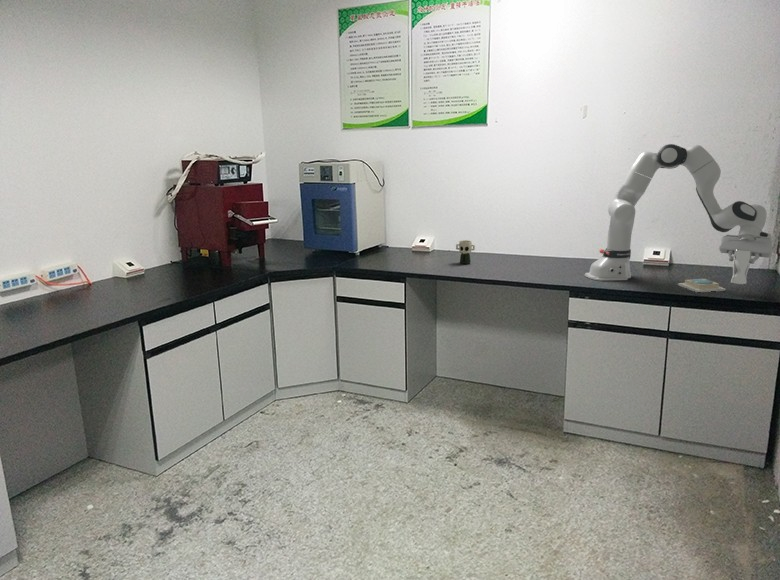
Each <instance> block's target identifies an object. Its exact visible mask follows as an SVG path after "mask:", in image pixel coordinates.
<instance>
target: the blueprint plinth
mask: <svg viewBox="0 0 780 580" xmlns="http://www.w3.org/2000/svg"><path fill="white" fill-rule="evenodd" d="M677 286H679V287H682V288H685V289H686V288H687V289H686V290H689V291H692V292H694V291H695V293H697V292H701V293H712V292H711V291H716V292H725V291H726V288H724V287H722V286H720V283H718V282H715V281H712V280H710V279H706V278H693V279H685V280H684V282H679V283H677Z"/></svg>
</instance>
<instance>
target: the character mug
mask: <svg viewBox="0 0 780 580" xmlns="http://www.w3.org/2000/svg"><path fill="white" fill-rule="evenodd" d="M472 242H473V241H472V240H467V239H466V240H460V241H459V242H458V243H456V244H455V248H456V250H458V251H459V253H461V254H460V258H459V264H465V265H468V264H470V263H471V254H470V253H471V252H472V251H475V249H476V248H475V247H476V246H475V245H476V244H472Z"/></svg>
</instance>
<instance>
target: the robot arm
mask: <svg viewBox="0 0 780 580" xmlns="http://www.w3.org/2000/svg"><path fill="white" fill-rule="evenodd" d="M679 166H683V167H684V168H686V169H687V171H689V173H690V174H691V176H692V177H693V179H694V183H695V191H696V193H697V196H698V198H699V200H700V202H701V204H702V206H703V208H704V209H705V211H706V214H707V215H708V218H709V221H710V224H711V226H712V227H713V229H714V230H716V231H718V232H720V233H727V232H729V231H731V230H732V229H734V228H736V227H738V226H739V227H740V228H739V231H738V235H735V234H732V235H731V234H726V235H723V236H722V237H721V242H720V244H719V248H718V249H719V252H720V253H722V254H728V257H729V258H728V260H729V262H733V255H734V251H735V249H737V250H741V251H751V250H752V257H751V260H750V265H751V264H752V265H754V264H755V262H756V261H757V260H758V259H760V258H767V259H769V258H770V257H771V256H772V254H773V253H772V252H773V237H772V234H770V233H768V232H765V231H763V229H764V227H765V225H766V222H767V215H768V214H767V210H766V208H765V206H762V205H760V204H749V203H747V202H745V201H741V200H737V201H735V202H733V203H731V204H729V205H728V206H727V207H724V208H723V209H722V208H721V206H720V204H719V203H718V200H717V199H716V197H715V195H714V189H715V186H716V184H717V183H718V181H719V180H720V177H721V167H720V165H719V163H718V162H716V160H715V158H714V157H713V156H712V155H711V154H710V153H709V152H708V151H707V150H706V149H705V148H704V147H703V146H701V145H698V144H695V145H692V146H690V147H688V148H685V147H682V146H680V145H677V144H673V143H669V144H665V145H663V146H662V147H660V148H659V150H658V151H657V152H652V151H644V152H641V153H640V154H639V156H638V157H637V158H636V159H635V161H634V162H633V163H632V165H631V168H630V169H629V171H628V173H627V175H626V177H625V179H624V180H623V183H622V184H621V186H620V187H619V189H618V190H617V192H616V194H614V196H613V198H612V200H611V201H610V203H609V205H608V209H607V212H608V215H609V216H610V218H609V221H610V222H609V227H608V232H607V240H606V248H605V250H604V249H602V248H600V249H599V254H602V256H601V257H600V258H598V259H597V260H595V261H593V262H592V263H591V265H590V267H589V272H585V273H584V276H585V277H586V278H588V279H590V280H593V281H628V280H629V279H631V278H632V273H631V267H630V260H631V254H632V252H631V251H632V249H631V243H632V233H633V228H634V224H635V218H636V208H635V207H636V205H637V203H638V202H639V200H640V199H641V198H642V196H643V195H644V194H645V193H646V190H647V189H648V187H649V185H650V183H651V182H652V179H653V177H654V176H655V173H656V172H657V171H658V170H659V169H667V170H668V169H669V170H670V169H671V170H673V169H676V168H678V167H679Z"/></svg>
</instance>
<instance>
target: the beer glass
mask: <svg viewBox="0 0 780 580" xmlns="http://www.w3.org/2000/svg"><path fill="white" fill-rule="evenodd" d="M732 256H733V261H732V277H731V279H730V283H731V284H735V285H746V284H748V283H747V275H748V273H749V272H748V271H749V268H750V266H751V263H750V260H751V258H753V256H752V250H751V251H741V250H737V249H735V251H734V254H732Z"/></svg>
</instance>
